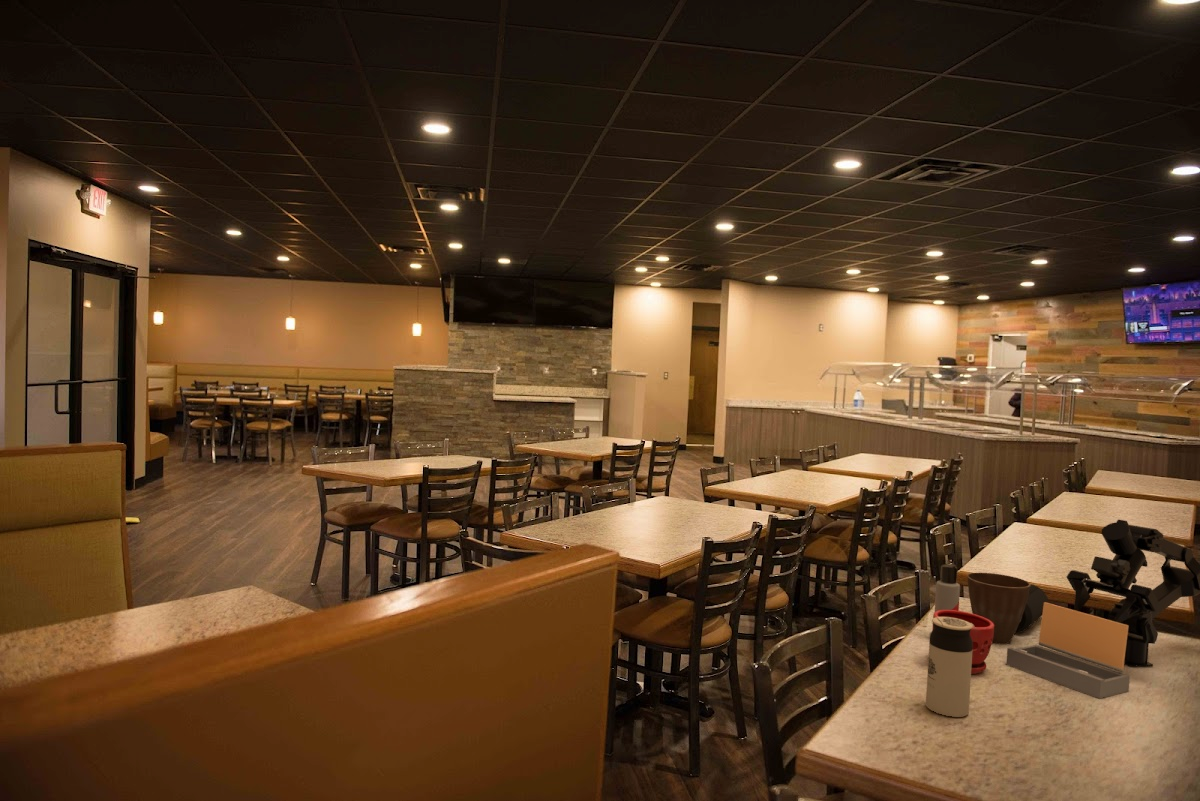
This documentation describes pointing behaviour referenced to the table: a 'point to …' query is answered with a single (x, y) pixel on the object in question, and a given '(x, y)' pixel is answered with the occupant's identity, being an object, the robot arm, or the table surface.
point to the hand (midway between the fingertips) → (1095, 616)
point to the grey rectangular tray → (1068, 671)
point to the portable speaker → (1032, 608)
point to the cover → (1084, 636)
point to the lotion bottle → (947, 589)
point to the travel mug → (949, 667)
